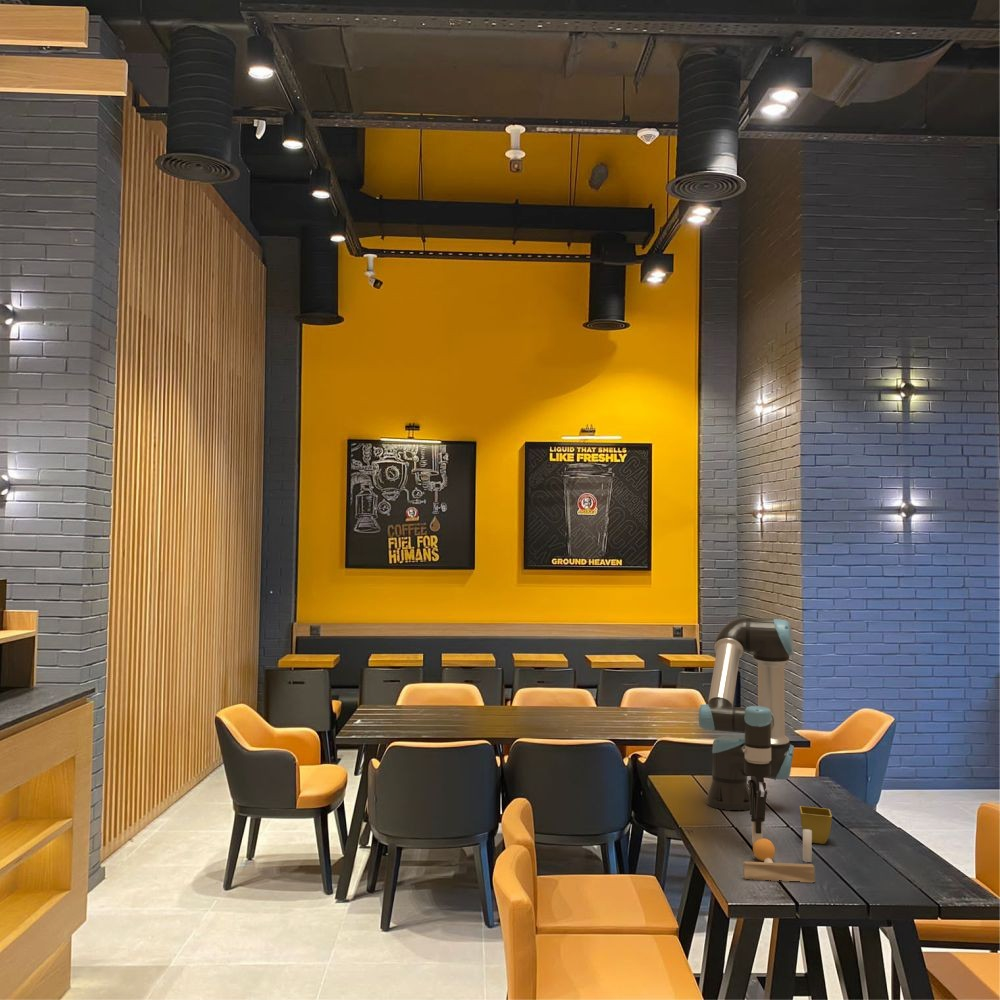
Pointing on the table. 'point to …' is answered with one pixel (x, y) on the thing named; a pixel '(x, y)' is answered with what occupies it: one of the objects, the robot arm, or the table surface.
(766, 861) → the cream pin
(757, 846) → the ball
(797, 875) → the back wall
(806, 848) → the beige tapered peg
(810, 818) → the flower pot
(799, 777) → the table surface
